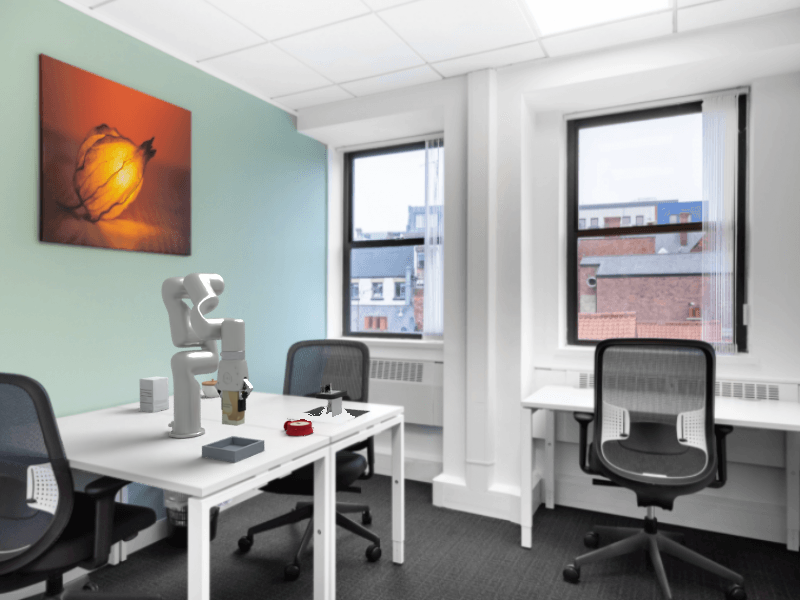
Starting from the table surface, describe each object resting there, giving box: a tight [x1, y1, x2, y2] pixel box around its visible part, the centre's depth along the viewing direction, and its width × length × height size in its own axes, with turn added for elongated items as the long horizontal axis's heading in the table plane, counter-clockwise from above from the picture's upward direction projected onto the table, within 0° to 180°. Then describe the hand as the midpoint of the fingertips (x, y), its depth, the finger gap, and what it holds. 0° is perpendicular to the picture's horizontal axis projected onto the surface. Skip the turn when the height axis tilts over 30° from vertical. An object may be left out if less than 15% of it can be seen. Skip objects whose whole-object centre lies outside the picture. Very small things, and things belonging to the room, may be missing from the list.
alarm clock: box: [283, 419, 315, 437], centre depth 203 cm, size 10×6×15 cm
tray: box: [201, 435, 265, 463], centre depth 175 cm, size 14×14×4 cm
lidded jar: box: [201, 378, 220, 399], centre depth 276 cm, size 11×11×9 cm
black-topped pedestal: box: [303, 382, 371, 419], centre depth 232 cm, size 28×26×13 cm
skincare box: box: [221, 388, 246, 427], centre depth 174 cm, size 6×4×12 cm
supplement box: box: [139, 375, 170, 413], centre depth 243 cm, size 9×9×15 cm
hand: (233, 409), depth 174 cm, fingers closed on skincare box, 6 cm apart
